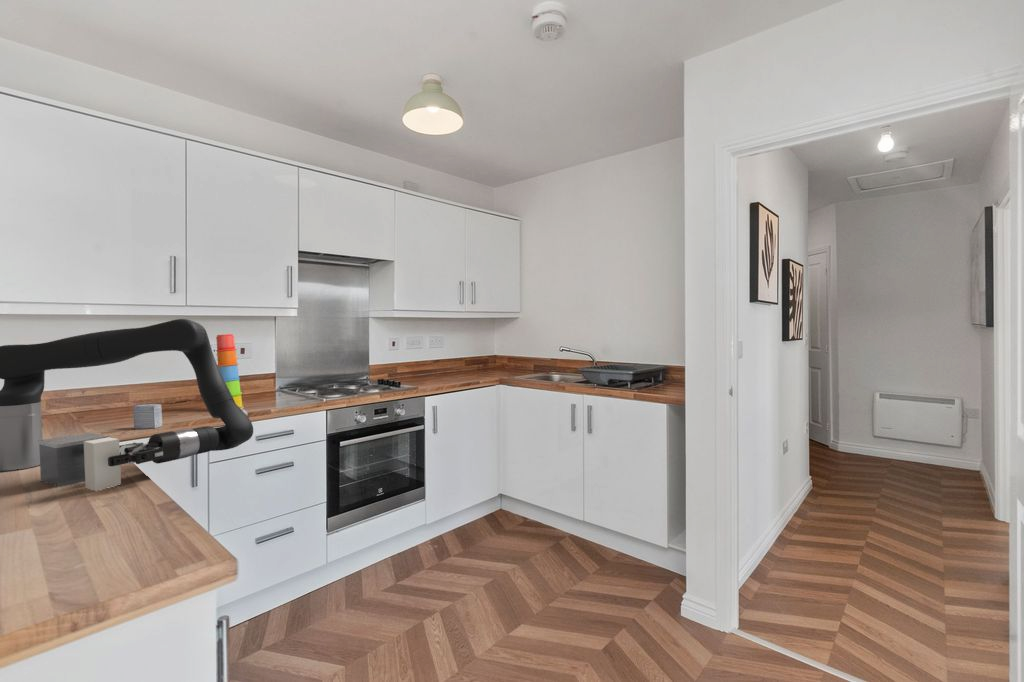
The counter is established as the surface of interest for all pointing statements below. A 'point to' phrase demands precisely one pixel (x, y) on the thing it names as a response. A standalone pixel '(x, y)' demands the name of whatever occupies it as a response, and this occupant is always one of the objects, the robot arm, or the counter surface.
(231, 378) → the stacking cups
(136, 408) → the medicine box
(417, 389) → the counter surface
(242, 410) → the grey rock
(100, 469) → the cream block
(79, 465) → the block
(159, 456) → the robot arm
